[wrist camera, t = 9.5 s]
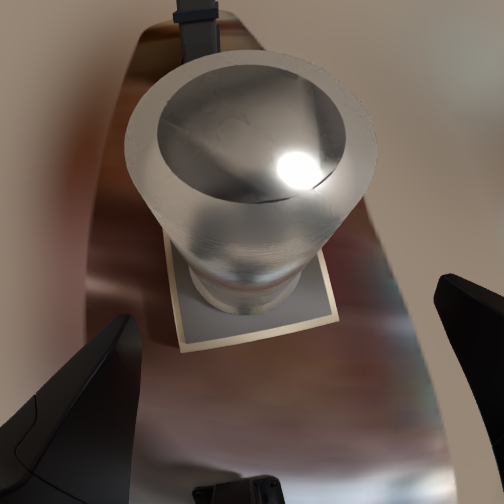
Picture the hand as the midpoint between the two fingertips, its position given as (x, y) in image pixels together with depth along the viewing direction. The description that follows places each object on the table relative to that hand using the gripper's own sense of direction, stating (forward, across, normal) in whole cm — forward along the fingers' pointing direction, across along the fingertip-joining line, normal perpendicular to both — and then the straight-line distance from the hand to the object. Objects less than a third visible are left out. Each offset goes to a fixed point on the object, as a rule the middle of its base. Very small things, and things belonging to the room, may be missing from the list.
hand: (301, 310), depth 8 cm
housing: (+10, +1, +4) cm, 11 cm away
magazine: (+30, +4, -11) cm, 32 cm away
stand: (+12, +1, +6) cm, 14 cm away
